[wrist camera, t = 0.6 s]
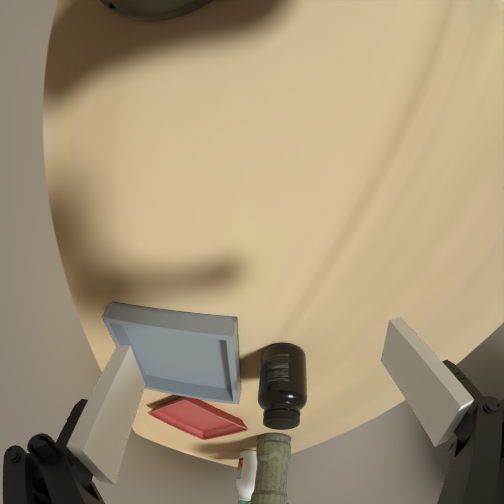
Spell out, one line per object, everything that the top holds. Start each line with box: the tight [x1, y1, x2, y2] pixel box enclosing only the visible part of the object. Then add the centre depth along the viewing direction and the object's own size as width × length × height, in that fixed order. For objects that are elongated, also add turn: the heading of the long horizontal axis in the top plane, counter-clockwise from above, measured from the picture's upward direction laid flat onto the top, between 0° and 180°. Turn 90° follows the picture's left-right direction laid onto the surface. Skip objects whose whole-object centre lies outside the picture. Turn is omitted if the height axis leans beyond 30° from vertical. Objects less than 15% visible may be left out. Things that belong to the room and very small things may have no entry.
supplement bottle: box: [258, 343, 307, 430], centre depth 36 cm, size 7×7×12 cm
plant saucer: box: [148, 397, 248, 440], centre depth 57 cm, size 18×18×3 cm
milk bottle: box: [236, 450, 257, 504], centre depth 64 cm, size 8×8×20 cm
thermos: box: [245, 433, 291, 504], centre depth 48 cm, size 9×12×35 cm
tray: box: [102, 302, 241, 404], centre depth 42 cm, size 20×20×4 cm
